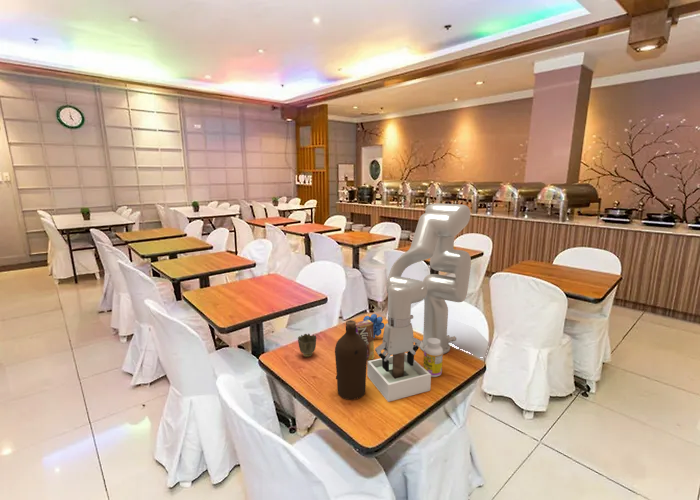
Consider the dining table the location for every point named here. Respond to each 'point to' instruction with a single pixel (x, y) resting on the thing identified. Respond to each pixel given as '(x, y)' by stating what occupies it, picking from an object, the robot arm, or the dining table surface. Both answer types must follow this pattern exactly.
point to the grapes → (375, 324)
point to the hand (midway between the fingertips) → (398, 366)
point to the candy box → (366, 336)
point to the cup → (307, 344)
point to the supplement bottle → (433, 357)
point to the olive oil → (351, 363)
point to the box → (398, 379)
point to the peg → (398, 365)
